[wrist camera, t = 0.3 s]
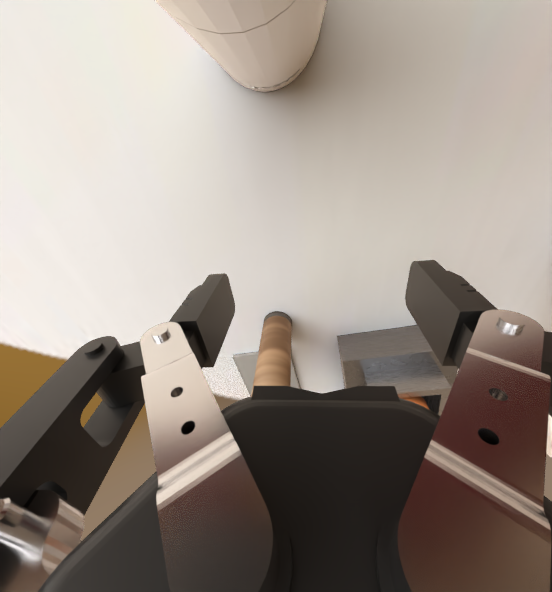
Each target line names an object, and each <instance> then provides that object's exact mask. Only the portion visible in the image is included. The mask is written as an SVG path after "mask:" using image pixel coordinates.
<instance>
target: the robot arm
mask: <svg viewBox="0 0 552 592" xmlns="http://www.w3.org/2000/svg"><path fill="white" fill-rule="evenodd" d="M155 1H156V2H157V3H158V4H159V5H160V6H161V7H162V8H163V9H164V10H165V11H166V12H167V13H168V14H169V15H170V16H171V17H172V18H173V19H174V20H175V21H176V22H177V23H178V24H179V25H180V26H181V27H182V28H183V29H184V30H185V31H186V32H187V33H188V34H189V35H190V36H191V37H192V38H193V39H194V40H195V41H196V42H197V43H198V44H199V45H200V46H201V47H202V48H203V49H204V50H205V51H206V52H207V53H208V54H209V55H210V56H211V57H212V58H213V59H214V60H215V61H216V62H217V63H218V64H219V65H220V66H221V67H222V68H223V69H224V70H225V71H226V72H227V73H228V74H229V75H230V76H231V77H232V78H233V79H234V80H235V81H236V82H238V83H239V84H241V85H242V86H244V87H246V88H249V89H251V90H254V91H262V92H268V91H274V90H278V89H280V88H282V87H284V86H286V85H288V84H289V83H290V82H292V81H293V80H294V79H295V78H297V77H298V75H299V74H300V73H301V72H302V71H303V69H304V68H305V67H306V65H307V63H308V62H309V60H310V58H311V56H312V54H313V52H314V49H315V46H316V43H317V41H318V38H319V33H320V29H321V24H322V20H323V16H324V12H325V8H326V3H327V0H155ZM405 299H406V305H407V308H408V310H409V311H410V313H411V315H412V316H413V318H414V320H415V321H416V323H417V325H418V326H419V328H420V330H421V332H422V333H423V335H424V337H425V338H426V340H427V342H428V343H429V345H430V347H431V348H432V350H433V352H434V353H435V355H436V357H437V358H438V360H439V362H440V363H441V365H442V366H457V367H458V368H459V371H458V374H457V376H456V379H455V381H454V384H453V386H452V389H451V391H450V394H449V396H448V399H447V401H446V404H445V406H444V409H443V411H442V414H441V416H439V415H438V414H436V413H435V412H433V411H431V410H429V409H427V408H425V407H423V406H421V405H419V404H416V403H414V402H411V401H408V400H405V399H401V398H399V397H398V394H397V391H396V388H395V386H355V387H351V388H347V389H342V390H338V391H333V392H329V393H324V394H320V393H315V392H311V391H307V390H303V389H298V388H294V387H290V386H254V388H253V393H252V397H248V398H245V399H242V400H239V401H237V402H235V403H233V404H231V405H230V406H228V407H226V408H225V409H223V410H222V411H221V410H220V408H219V406H218V404H217V402H216V400H215V397H214V395H213V393H212V391H211V389H210V387H209V385H208V382H207V380H206V378H205V376H204V374H203V372H202V367H214V364H215V362H216V359H217V357H218V354H219V352H220V349H221V347H222V344H223V342H224V339H225V336H226V334H227V331H228V329H229V326H230V324H231V321H232V319H233V316H234V313H235V303H234V298H233V295H232V291H231V287H230V283H229V279H228V276H227V275H226V274H211V275H209V276H208V277H207V278H206V280H205V281H204V283H203V284H202V285H200V286H198V287H197V288H195V289H194V290H192V291H191V292H190V293H189V295H188V296H187V298H186V300H184V302H183V303H182V305H181V306H180V307H179V309H178V310H177V311H176V313H175V314H174V315H173V317H172V318H171V320H170V321H169V322H166V323H161V324H158V325H156V326H154V327H152V328H150V329H149V330H148V331H146V332H145V333H144V334H143V336H142V337H141V339H140V342H136V343H132V344H128V345H124V346H120V344H119V343H118V341H117V339H116V338H115V337H111V336H106V337H101V338H98V339H95V340H93V341H90V342H88V343H87V344H85V345H83V346H82V347H81V348H79V349H78V350H77V351H76V352H75V353H74V354H73V355H72V356H71V357H70V358H69V359H68V360H67V361H66V362H65V363H64V364H63V365H62V366H61V367H60V368H59V369H58V370H57V372H55V373H54V374H53V375H52V376H51V377H50V379H48V380H47V381H46V383H44V384H43V386H42V387H41V388H40V389H39V390H38V391H37V392H36V393H35V394H34V395H33V396H32V397H31V398H30V399H29V400H28V401H27V402H26V403H25V404H24V405H23V406H22V407H21V408H20V409H19V410H18V411H17V412H16V413H15V414H14V415H13V416H12V417H11V418H10V419H9V420H8V421H7V422H6V423H5V424H4V425H3V426H2V427H1V428H0V592H552V501H550V500H549V499H548V498H546V497H545V496H544V483H545V467H546V450H547V433H548V416H549V415H550V416H551V417H552V332H545V331H544V329H543V327H542V326H541V325H540V324H539V323H538V322H536V321H535V320H533V319H531V318H529V317H527V316H525V315H522V314H520V313H516V312H512V311H507V310H498V309H497V308H496V307H495V306H493V305H492V304H491V303H490V302H489V301H488V300H487V299H486V298H485V297H483V296H482V295H481V294H480V293H479V292H476V289H475V288H473V287H472V286H471V285H470V284H469V283H468V282H467V281H466V280H465V279H464V278H462V277H461V276H459V275H457V274H455V273H452V272H450V271H446V270H445V269H444V268H443V267H442V266H441V265H439V264H438V263H437V262H436V261H435V260H426V261H414V262H413V263H412V264H411V267H410V273H409V278H408V284H407V289H406V296H405ZM96 392H97V393H98V395H99V396H100V397H101V398H102V400H103V401H102V402H101V403H100V405H99V406H98V408H97V409H96V410H95V412H94V414H93V415H92V416H91V417H90V419H89V420H88V422H87V423H86V425H85V426H84V428H83V427H82V426H81V423H80V418H81V414H82V411H83V409H84V408H85V407H86V405H87V404H88V403H89V401H90V400H91V399H92V397H93V396H94V395H95V393H96ZM144 403H145V406H146V411H147V417H148V423H149V429H150V435H151V441H152V447H153V453H154V459H155V465H156V472H155V473H154V474H153V475H152V476H151V477H150V478H149V479H148V480H147V481H146V482H144V483H143V485H141V486H140V487H139V488H138V489H137V490H136V491H135V492H134V493H133V494H132V495H131V496H130V497H129V498H127V499H126V500H125V501H124V502H123V503H122V504H121V505H120V506H119V507H118V508H117V509H116V510H115V511H114V512H113V513H111V514H110V515H109V516H108V517H107V518H106V519H105V520H104V521H103V522H102V523H101V524H100V525H99V526H98V527H97V528H95V529H94V530H93V531H92V532H91V533H90V534H89V535H88V536H87V537H86V538H85V539H84V540H83V541H81V540H80V539H81V536H82V533H83V530H84V515H85V513H86V511H87V509H88V507H89V506H90V504H91V502H92V500H93V498H94V496H95V494H96V492H97V491H98V489H99V487H100V485H101V483H102V481H103V480H104V478H105V476H106V474H107V472H108V470H109V468H110V466H111V465H112V463H113V461H114V459H115V457H116V455H117V453H118V451H119V450H120V448H121V446H122V444H123V442H124V440H125V438H126V437H127V435H128V433H129V431H130V429H131V427H132V425H133V424H134V422H135V420H136V418H137V416H138V414H139V412H140V410H141V409H142V407H143V405H144Z"/></svg>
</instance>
